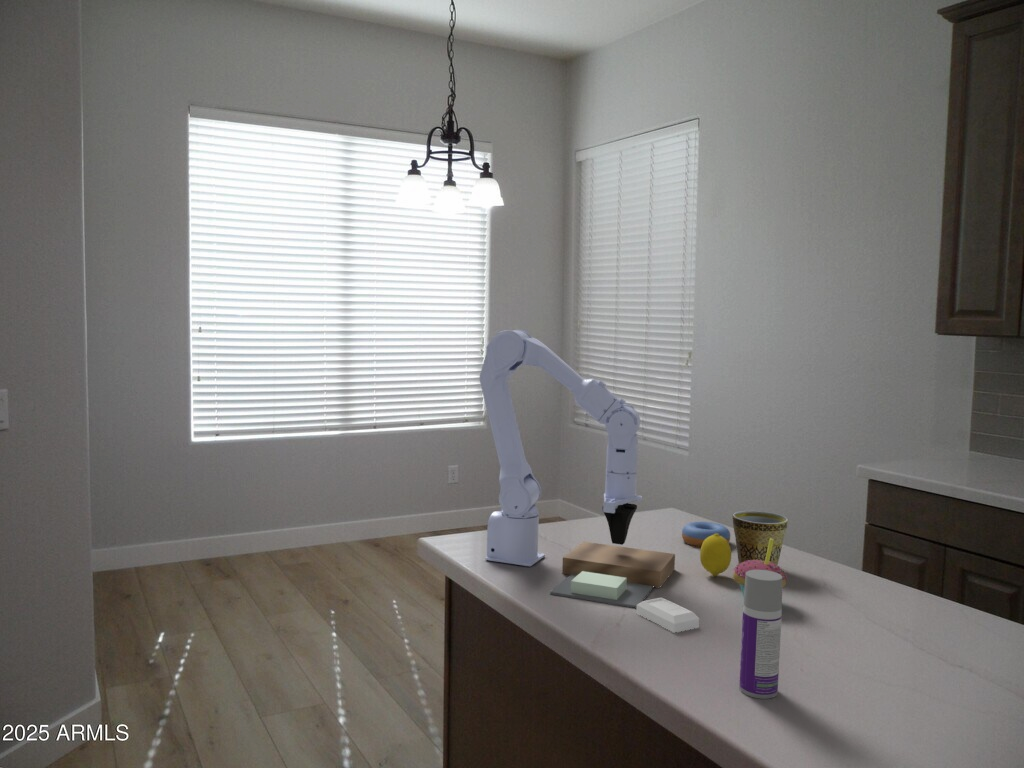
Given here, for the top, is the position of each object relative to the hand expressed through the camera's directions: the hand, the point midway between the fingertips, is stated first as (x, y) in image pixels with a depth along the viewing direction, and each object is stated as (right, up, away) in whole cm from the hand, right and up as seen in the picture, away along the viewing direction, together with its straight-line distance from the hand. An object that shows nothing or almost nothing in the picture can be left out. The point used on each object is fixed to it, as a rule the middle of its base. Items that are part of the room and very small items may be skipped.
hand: (618, 543), depth 153 cm
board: (0, -5, -1) cm, 5 cm away
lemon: (+17, -6, -3) cm, 18 cm away
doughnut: (+21, -4, +20) cm, 29 cm away
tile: (-5, -4, -14) cm, 15 cm away
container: (+11, -9, -49) cm, 51 cm away
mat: (-4, -6, -12) cm, 14 cm away
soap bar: (+4, -8, -25) cm, 27 cm away
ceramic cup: (+27, -5, +4) cm, 28 cm away
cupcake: (+21, -7, -16) cm, 28 cm away
